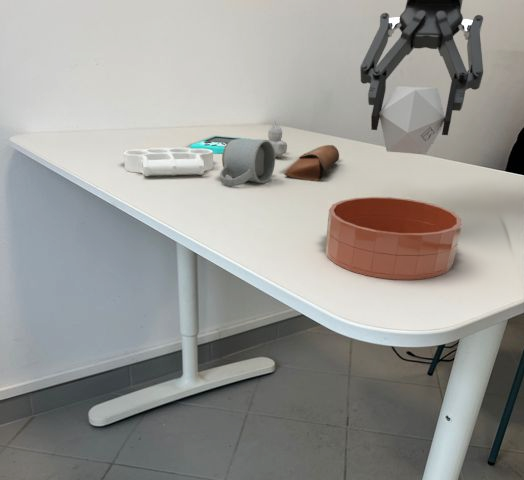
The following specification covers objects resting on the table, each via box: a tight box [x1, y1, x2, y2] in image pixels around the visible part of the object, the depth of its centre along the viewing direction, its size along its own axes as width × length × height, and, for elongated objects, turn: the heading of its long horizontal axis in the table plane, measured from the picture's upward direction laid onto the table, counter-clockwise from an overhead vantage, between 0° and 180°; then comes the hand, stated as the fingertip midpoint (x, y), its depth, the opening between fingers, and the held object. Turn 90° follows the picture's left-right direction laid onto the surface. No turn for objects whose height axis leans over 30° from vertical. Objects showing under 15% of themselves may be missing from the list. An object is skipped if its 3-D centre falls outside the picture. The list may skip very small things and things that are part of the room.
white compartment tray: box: [123, 147, 214, 177], centre depth 109 cm, size 3×18×15 cm
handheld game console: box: [189, 135, 245, 154], centre depth 133 cm, size 10×16×1 cm, turn 162°
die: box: [379, 85, 446, 156], centre depth 73 cm, size 8×9×10 cm
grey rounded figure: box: [267, 120, 288, 158], centre depth 122 cm, size 5×7×8 cm
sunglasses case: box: [283, 144, 340, 182], centre depth 112 cm, size 18×7×7 cm
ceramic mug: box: [219, 138, 276, 187], centre depth 101 cm, size 11×8×8 cm
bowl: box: [325, 196, 463, 281], centre depth 69 cm, size 16×16×6 cm
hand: (409, 125), depth 70 cm, fingers closed on die, 8 cm apart
